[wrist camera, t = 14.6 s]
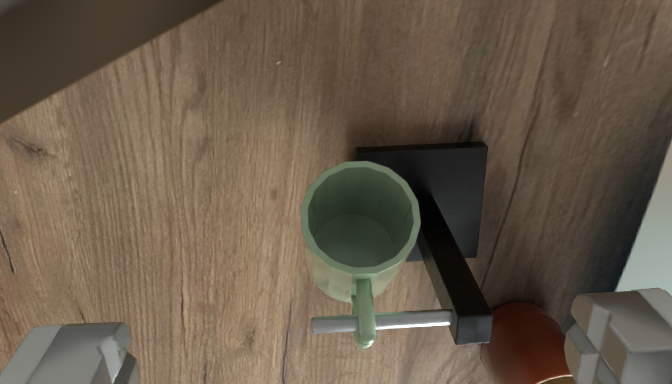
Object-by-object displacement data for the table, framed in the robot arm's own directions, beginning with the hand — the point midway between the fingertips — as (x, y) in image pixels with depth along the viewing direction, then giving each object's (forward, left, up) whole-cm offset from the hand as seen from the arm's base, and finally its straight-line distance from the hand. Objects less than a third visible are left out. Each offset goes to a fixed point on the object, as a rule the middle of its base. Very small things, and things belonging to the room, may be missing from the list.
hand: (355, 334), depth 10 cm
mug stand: (+14, +6, -31) cm, 34 cm away
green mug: (+15, +2, -23) cm, 28 cm away
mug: (+29, +18, -31) cm, 46 cm away
